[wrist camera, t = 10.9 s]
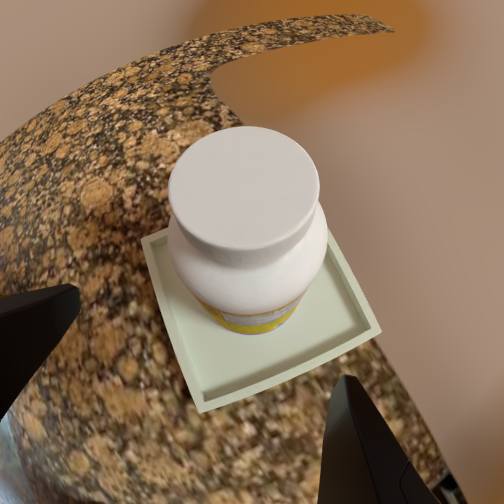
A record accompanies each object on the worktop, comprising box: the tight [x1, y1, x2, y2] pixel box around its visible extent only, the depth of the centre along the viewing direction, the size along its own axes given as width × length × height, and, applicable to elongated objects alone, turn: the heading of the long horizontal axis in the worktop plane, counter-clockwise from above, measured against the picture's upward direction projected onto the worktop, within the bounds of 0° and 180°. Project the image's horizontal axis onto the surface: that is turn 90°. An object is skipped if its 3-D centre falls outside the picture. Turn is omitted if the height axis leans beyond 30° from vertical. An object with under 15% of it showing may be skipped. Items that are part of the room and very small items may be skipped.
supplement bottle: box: [167, 126, 328, 335], centre depth 15 cm, size 7×7×13 cm
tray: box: [140, 227, 382, 414], centre depth 20 cm, size 13×13×2 cm
